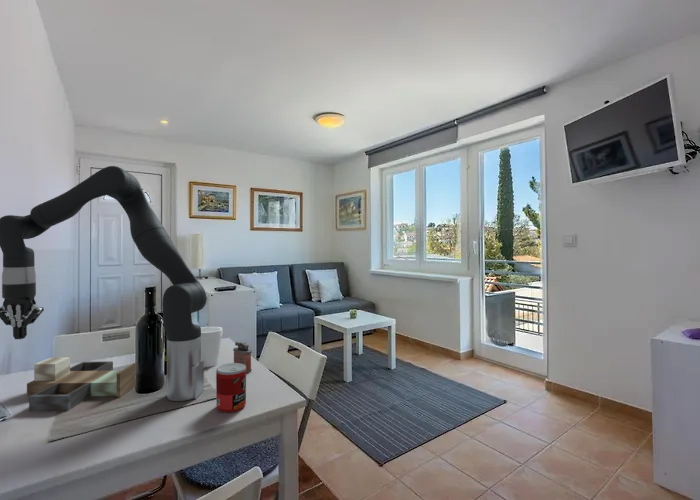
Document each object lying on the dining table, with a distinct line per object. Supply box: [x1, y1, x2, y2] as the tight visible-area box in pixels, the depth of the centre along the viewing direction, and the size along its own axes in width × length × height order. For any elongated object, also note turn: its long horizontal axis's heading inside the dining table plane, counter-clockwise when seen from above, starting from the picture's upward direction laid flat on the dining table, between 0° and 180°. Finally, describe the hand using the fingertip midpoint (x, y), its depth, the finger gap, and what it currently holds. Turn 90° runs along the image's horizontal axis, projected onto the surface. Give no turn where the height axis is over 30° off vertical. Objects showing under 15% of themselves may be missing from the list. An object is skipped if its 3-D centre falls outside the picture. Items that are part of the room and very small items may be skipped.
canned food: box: [215, 362, 247, 414], centre depth 99 cm, size 8×8×11 cm
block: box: [33, 357, 71, 381], centre depth 109 cm, size 6×6×5 cm
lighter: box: [232, 341, 253, 374], centre depth 126 cm, size 8×3×10 cm, turn 58°
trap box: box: [26, 360, 137, 412], centre depth 109 cm, size 27×28×7 cm
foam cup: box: [200, 326, 223, 368], centre depth 133 cm, size 10×9×13 cm
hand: (19, 338), depth 108 cm, fingers closed
